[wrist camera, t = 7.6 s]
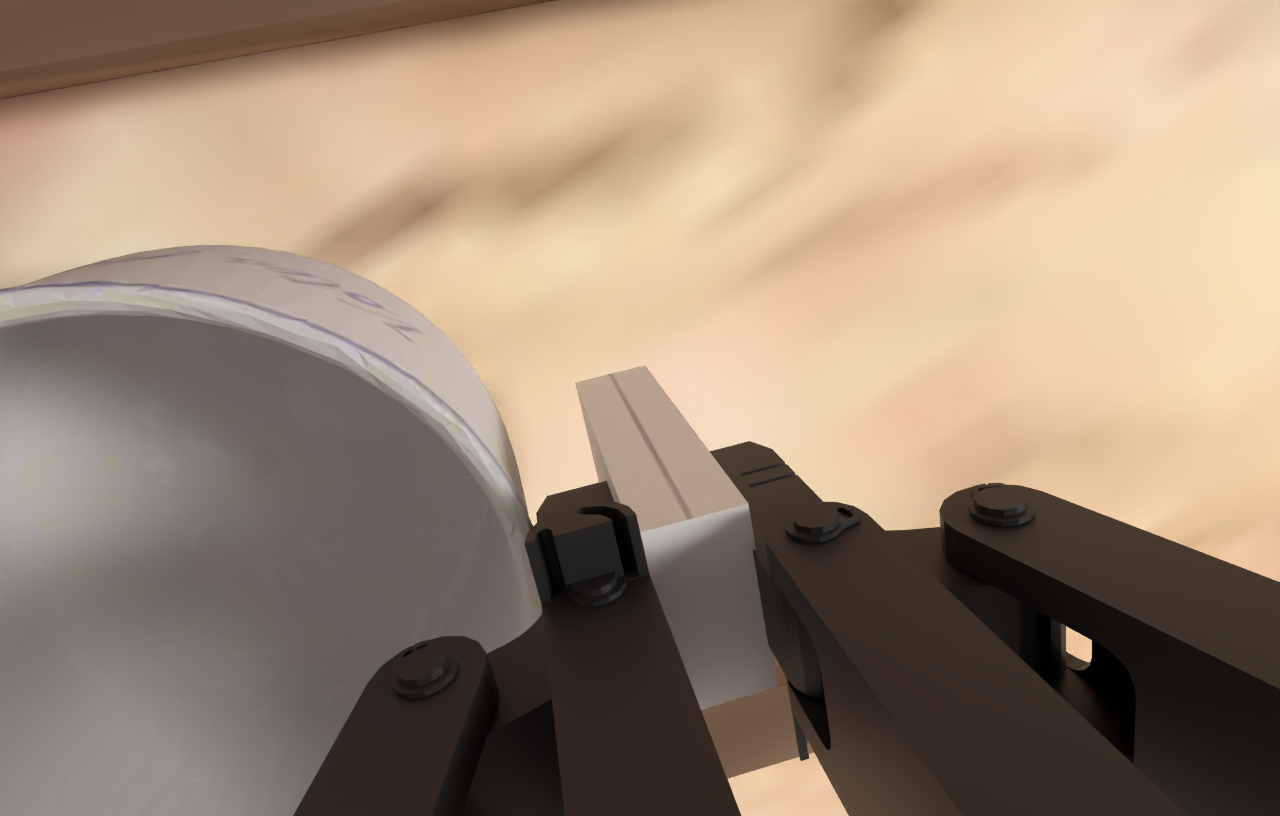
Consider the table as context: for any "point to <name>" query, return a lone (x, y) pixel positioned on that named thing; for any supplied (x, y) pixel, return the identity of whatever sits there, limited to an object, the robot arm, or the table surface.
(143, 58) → the guide track
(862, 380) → the table surface
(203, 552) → the teacup
